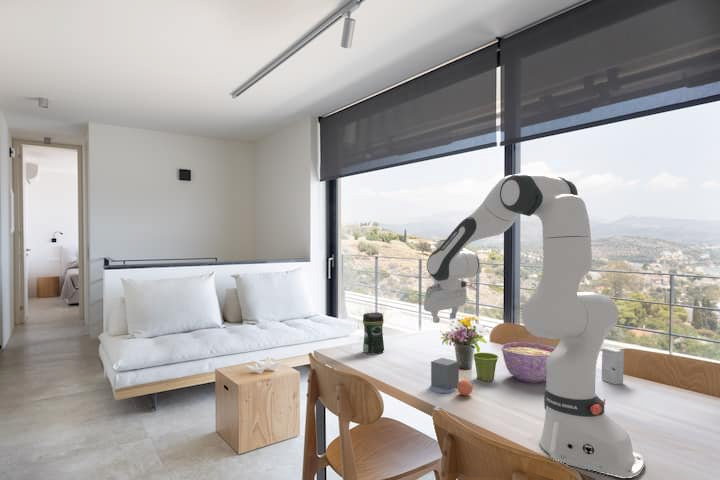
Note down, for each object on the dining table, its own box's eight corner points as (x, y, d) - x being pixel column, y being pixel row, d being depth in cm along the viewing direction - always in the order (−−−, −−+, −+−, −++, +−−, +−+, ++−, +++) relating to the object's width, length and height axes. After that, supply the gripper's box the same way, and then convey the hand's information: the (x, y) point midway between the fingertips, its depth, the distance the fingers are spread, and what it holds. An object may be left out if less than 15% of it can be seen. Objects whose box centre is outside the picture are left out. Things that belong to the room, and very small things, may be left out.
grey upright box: (458, 386, 154) (458, 361, 154) (447, 390, 149) (447, 365, 150) (442, 381, 159) (442, 357, 159) (431, 385, 154) (431, 361, 154)
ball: (475, 395, 145) (475, 380, 145) (467, 398, 142) (467, 383, 142) (462, 391, 149) (462, 377, 149) (454, 395, 145) (454, 380, 145)
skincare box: (600, 379, 161) (600, 347, 161) (610, 378, 162) (610, 346, 162) (615, 385, 155) (614, 351, 155) (624, 383, 156) (624, 350, 157)
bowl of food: (568, 388, 152) (568, 355, 152) (512, 388, 152) (512, 355, 152) (544, 371, 172) (544, 342, 172) (494, 371, 172) (494, 342, 172)
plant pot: (500, 383, 157) (499, 359, 157) (473, 381, 159) (473, 358, 159) (497, 375, 166) (497, 353, 166) (472, 374, 168) (472, 352, 168)
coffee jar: (379, 349, 208) (378, 310, 208) (386, 353, 200) (386, 313, 200) (360, 351, 204) (360, 312, 204) (367, 355, 196) (367, 314, 197)
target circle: (460, 388, 152) (460, 388, 152) (445, 395, 145) (445, 394, 145) (439, 382, 158) (439, 382, 158) (424, 388, 152) (424, 388, 152)
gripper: (434, 287, 147) (432, 327, 148) (470, 282, 160) (468, 318, 161) (420, 284, 152) (418, 322, 153) (456, 279, 165) (454, 314, 166)
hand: (444, 320), depth 157 cm, fingers open, 8 cm apart
